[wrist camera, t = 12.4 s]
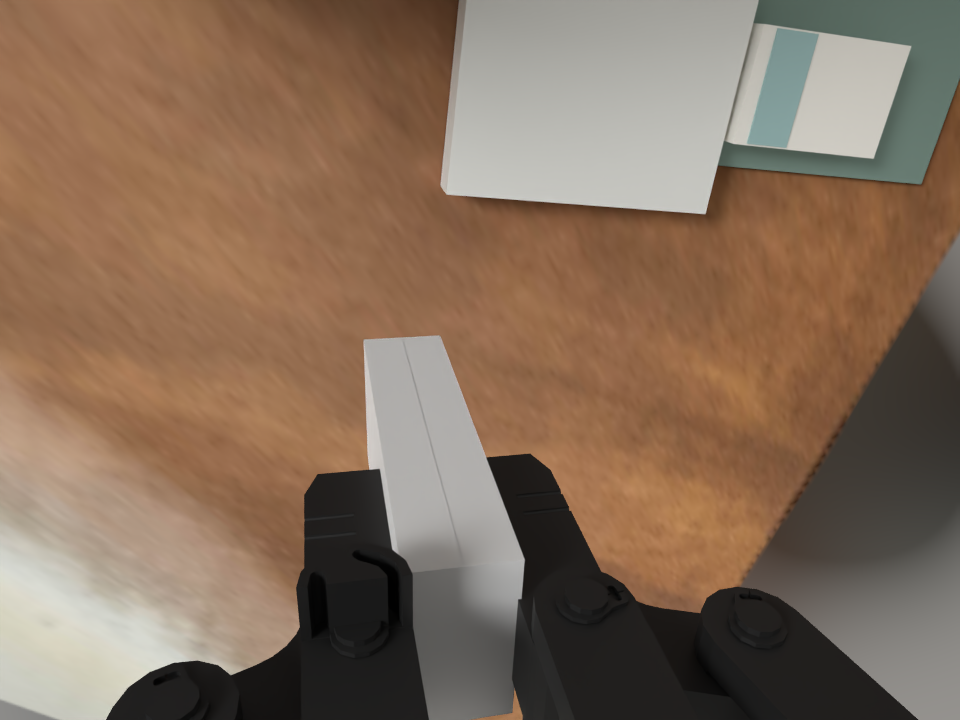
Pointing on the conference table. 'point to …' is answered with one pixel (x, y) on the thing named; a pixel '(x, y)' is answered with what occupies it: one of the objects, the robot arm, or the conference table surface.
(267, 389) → the conference table surface
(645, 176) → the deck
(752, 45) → the card
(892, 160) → the mat
